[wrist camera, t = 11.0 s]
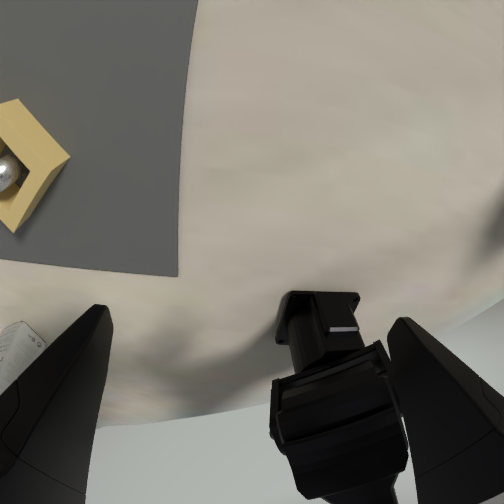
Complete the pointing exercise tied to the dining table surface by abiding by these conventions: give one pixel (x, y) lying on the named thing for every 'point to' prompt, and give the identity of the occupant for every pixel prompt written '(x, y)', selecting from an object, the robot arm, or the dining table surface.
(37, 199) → the link
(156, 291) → the dining table surface
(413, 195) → the dining table surface
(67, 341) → the robot arm
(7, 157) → the cylinder
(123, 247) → the mat
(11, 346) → the skincare box
